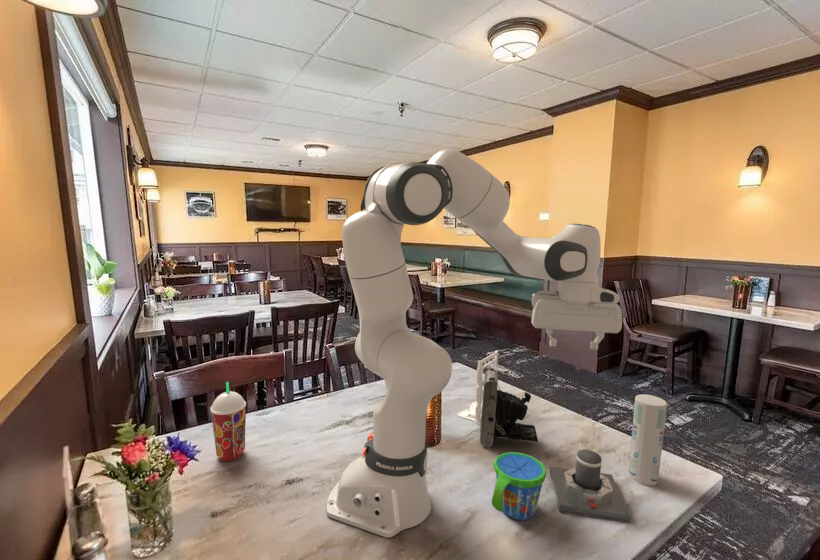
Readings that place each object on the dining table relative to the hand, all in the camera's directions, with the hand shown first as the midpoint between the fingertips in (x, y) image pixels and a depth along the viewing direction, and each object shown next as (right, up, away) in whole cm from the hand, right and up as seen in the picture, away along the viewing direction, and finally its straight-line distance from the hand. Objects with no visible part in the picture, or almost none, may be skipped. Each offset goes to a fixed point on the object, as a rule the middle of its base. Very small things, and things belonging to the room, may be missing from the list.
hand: (573, 347), depth 97 cm
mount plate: (0, -32, -7) cm, 33 cm away
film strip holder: (-16, -27, +31) cm, 44 cm away
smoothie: (-87, -30, +6) cm, 92 cm away
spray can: (+17, -32, 0) cm, 36 cm away
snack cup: (-17, -33, -12) cm, 39 cm away
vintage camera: (-12, -29, +15) cm, 35 cm away
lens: (0, -31, -7) cm, 32 cm away
